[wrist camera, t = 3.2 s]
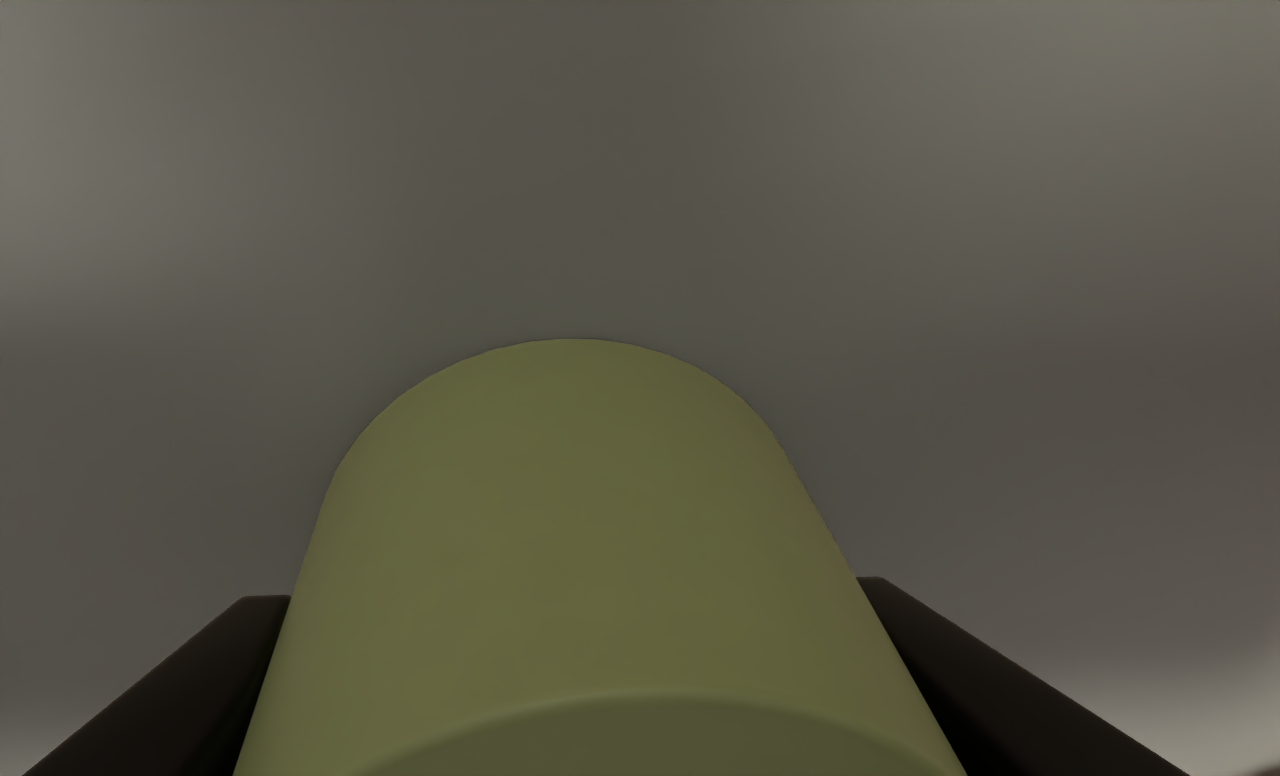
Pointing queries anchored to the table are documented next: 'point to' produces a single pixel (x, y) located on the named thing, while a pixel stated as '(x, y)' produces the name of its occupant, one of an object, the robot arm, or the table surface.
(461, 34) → the table surface
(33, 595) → the table surface
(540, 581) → the candle
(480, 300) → the table surface
